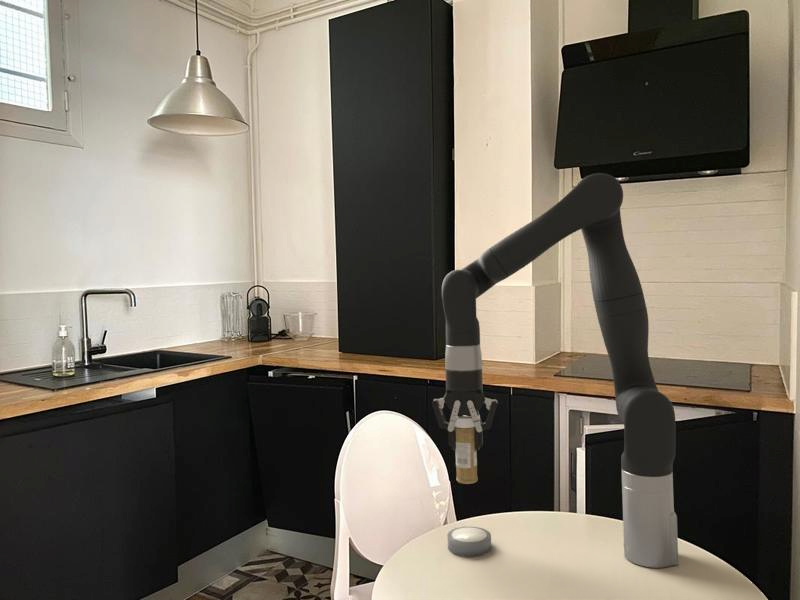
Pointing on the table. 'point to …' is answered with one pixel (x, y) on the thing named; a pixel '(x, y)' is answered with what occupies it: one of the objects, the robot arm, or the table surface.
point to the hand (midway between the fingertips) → (465, 448)
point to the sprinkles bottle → (465, 450)
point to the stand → (469, 541)
